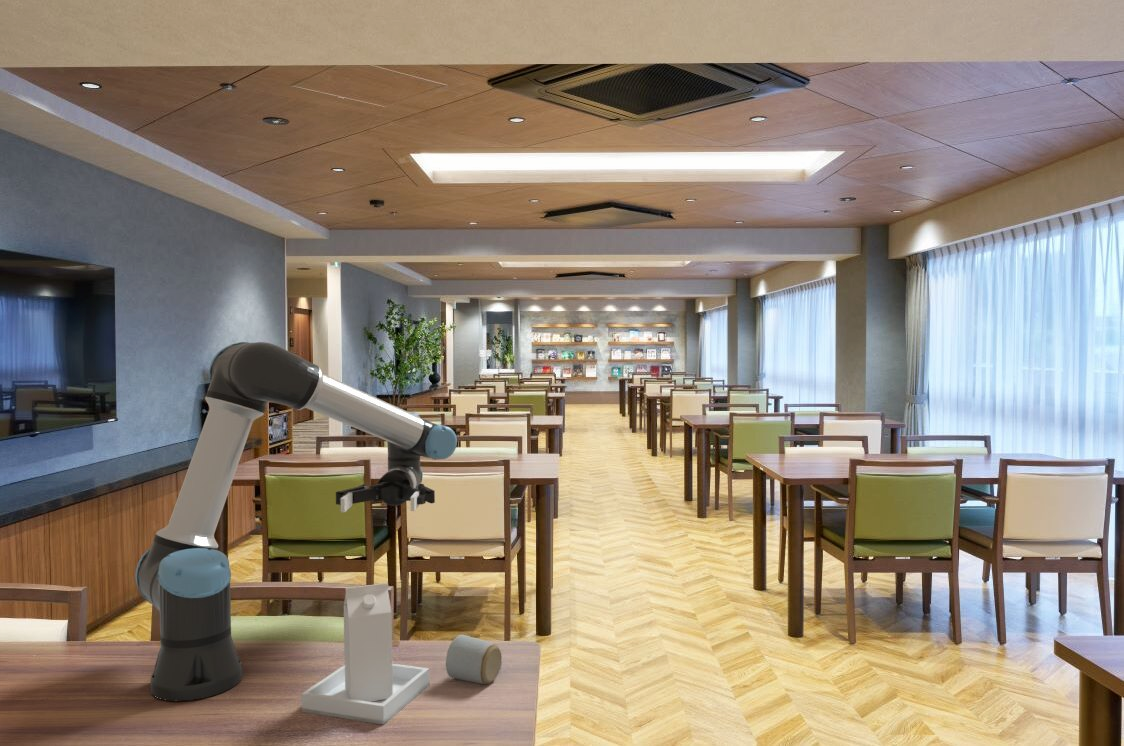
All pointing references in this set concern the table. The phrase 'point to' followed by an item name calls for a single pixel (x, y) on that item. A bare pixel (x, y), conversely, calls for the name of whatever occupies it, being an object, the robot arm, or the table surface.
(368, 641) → the milk carton
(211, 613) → the robot arm
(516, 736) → the table surface
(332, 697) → the tray
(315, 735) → the table surface
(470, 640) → the ceramic mug
